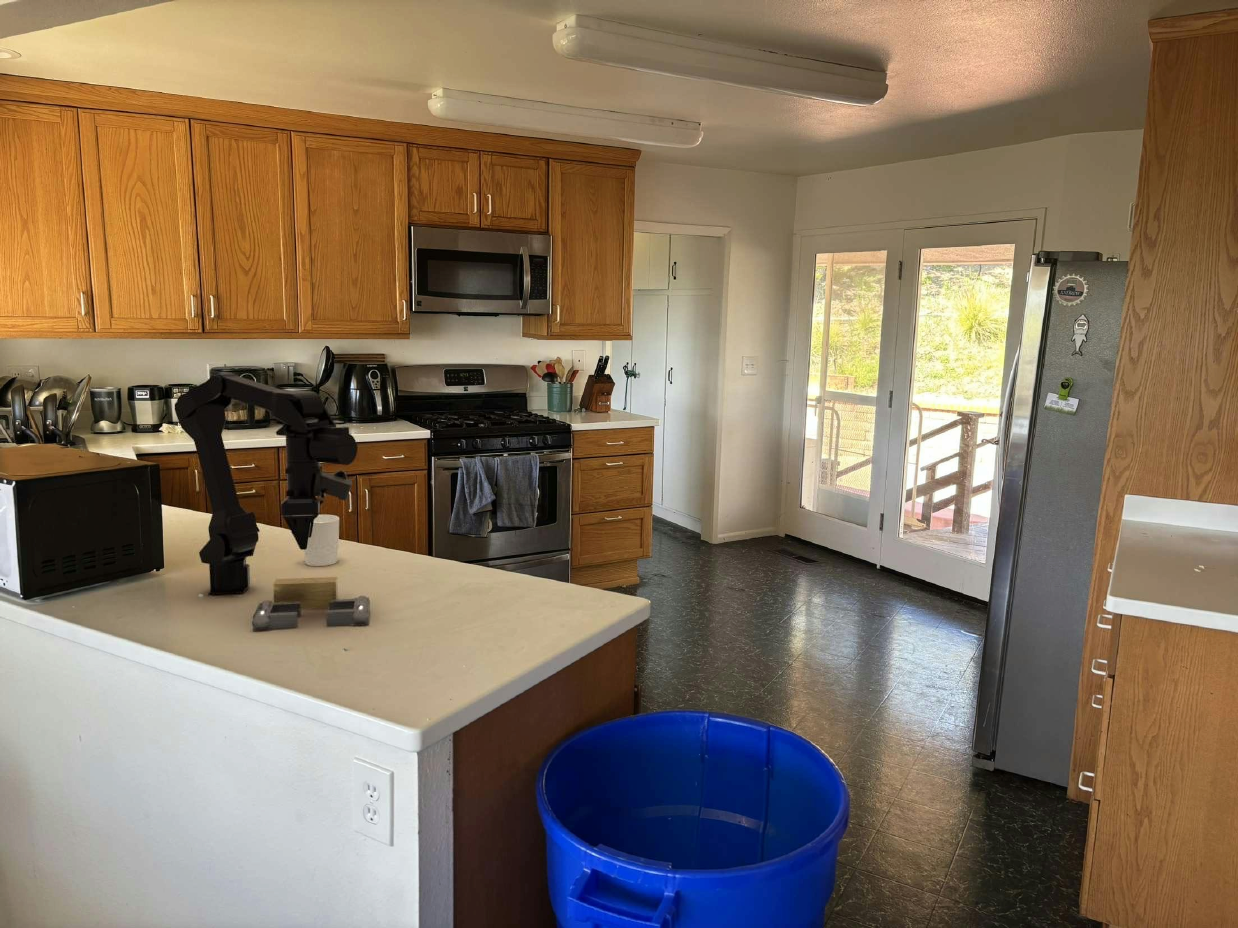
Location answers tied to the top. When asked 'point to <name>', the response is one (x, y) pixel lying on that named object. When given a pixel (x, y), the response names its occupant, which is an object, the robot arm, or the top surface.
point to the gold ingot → (306, 591)
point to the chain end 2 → (348, 611)
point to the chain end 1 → (276, 615)
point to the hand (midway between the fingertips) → (305, 543)
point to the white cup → (323, 541)
